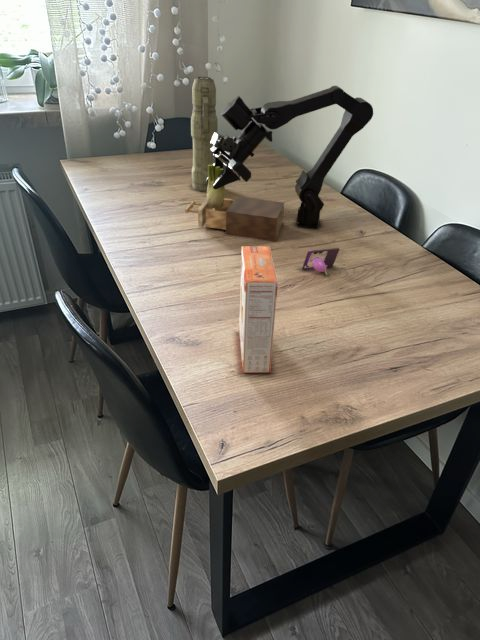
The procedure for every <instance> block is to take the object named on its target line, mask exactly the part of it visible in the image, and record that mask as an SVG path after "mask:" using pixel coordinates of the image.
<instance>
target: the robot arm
mask: <svg viewBox="0 0 480 640" xmlns="http://www.w3.org/2000/svg"><path fill="white" fill-rule="evenodd" d="M334 105H337V106H339V107H340V108H341V109H343V110H344V112H343V115H342V118H341V122H340V125H339V127H338V128H337V130H336V132H335V133H334V134H333V137H332V138H331V139H330V140H329V142H328V144H327V146H326V147H325V149H324V150H323V151H322V153H321V154H320V156H319V158H318V159H317V161H316V162H315V164H314V165H313V167H312V168H311V169H310V170H308V171H305V170H302V171H301V173H300V174H299V177H298V178H297V179H296V180H295V186H294V190H295V193H296V195H297V197H298V198H299V200H300V205H299V207H298V208H297V215H296V223H297V227H302V228H308V229H315V230H316V229H319V227H320V226H319V225H320V222H321V220H320V218H321V211H322V210H323V208H324V206H325V203H324V202H323V200H322V198H321V197H320V196H319V195H320V193H321V191H322V188H323V185H324V181H325V178H326V177H327V176H328V173H329V172H330V171H331V169H332V167H333V166H334V165H335V163H336V162H337V161H338V159H339V157H340V156H341V155H342V153H343V151H344V150H345V148H346V147H347V146H348V144H349V143H350V141H351V140H352V138H353V137H354V136H355V135H356V134H357V133H359V132H360V131H362V130H363V129H364V128H365V127H366V126H367V125H368V123H369V122H370V121H371V120H372V119H373V116H374V108H373V106H372V104H371V103H370V102H368V101H367V100H366V99H364V98H362V97H353V96H352V95H350V94H349V93H347V92H346V91H345V90H344V89H343V88H341V87H340V86H338V85H332V86H331V87H329V88H326V89H322V90H319V91H316V92H313V93H311V94H307V95H304V96H301V97H298V98H295V99H292V100H277V101H270V102H266V103H264V104H263V105H262V106H261V107H260V106H259V107H253V108H250V107H249V106H248V105H247V104H246V103H245V101H244V100H243V98H242V97H241V96H240V95H237V97H235V98H234V99H232V100H231V101H230V102H228V103H227V104H226V105H225V106H224V108H223V109H222V110H221V112H220V115H221V117H223V119H224V120H225V121H226V122H227V123H228V124H229V125H230V126H231V127H232V128H233V130H235V131H238V130H239V131H241V133H240V134H239V135H238V136H236V135H234V136H229V135H228V134H226V135H222V134H221V133H219V132H217V133H216V132H214V134H213V137H212V139H211V142H210V143H211V144H213V146H212V147H211V148H210V150H211V151H212V152H213V153H214V154H215V155H214V154H213V160H214V164H213V165H214V166H215V167H220V169H223V172H222V173H221V175H220V176H219V178H218V179H217V180H216V182H215V184H214V185H213V188H214V189H215V190H216V189H218V188H220V187H223V186H224V187H225V186H227V185H229V184H233V183H234V182H237V181H242V180H243V181H244V182H246V183H248V182H249V180H250V179H251V178H252V171H251V170H250V169H249V168H248V167H246V165H245V164H244V163H245V162H246V161H247V160H248V159H249V157H250V158H253V157H254V156H255V154H254V151H255V150H256V149H257V148H258V147H259V145H261V143H262V142H263V141H264V139H265V140H266V141H267V142H271V143H272V142H273V130H276V129H279V128H281V127H283V126H285V125H287V124H288V123H289V122H290V121H292V120H293V119H295V118H298V117H300V116H303V115H306V114H309V113H313V112H316V111H319V110H321V109H325V108H327V107H328V108H329V107H330V106H334ZM267 128H268V129H269V130H267ZM241 179H242V180H241ZM206 181H207V182H208V178H207V180H206Z"/></svg>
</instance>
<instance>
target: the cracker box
mask: <svg viewBox="0 0 480 640" xmlns="http://www.w3.org/2000/svg"><path fill="white" fill-rule="evenodd" d="M240 255H241V256H240V287H239V288H240V289H239V290H240V291H239V293H240V294H239V295H240V296H239V300H240V301H239V327H238V333H239V345H240V346H239V347H240V359H241V368H242V374H270V373H271V371H272V359H273V358H272V357H273V344H274V333H275V331H274V330H275V320H276V309H277V308H276V307H277V298H278V287H279V286H278V285H279V282H278V277H277V273H276V269H275V268H276V267H275V264H274V260H273V256H272V251H271V246H255V245H253V246H252V245H245V246H241V253H240Z"/></svg>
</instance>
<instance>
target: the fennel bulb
mask: <svg viewBox="0 0 480 640" xmlns="http://www.w3.org/2000/svg"><path fill="white" fill-rule="evenodd" d="M222 172H223V169H220V167H215V166H214V165H208V186H207V192H206V199H207V204H208V205H209V206H210V207H212V208H213V209H215V208H222V206H223V203H224V198H225V192H226V191H225V186H223V187H220V188H218V189H216V190H215V189H214V188H213V185H214V184H215V182H216V180H217V179H218V178H219V176H220V175H221V173H222Z"/></svg>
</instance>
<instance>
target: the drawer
mask: <svg viewBox="0 0 480 640" xmlns="http://www.w3.org/2000/svg"><path fill="white" fill-rule="evenodd" d="M233 201H234V199H231V198H225V197H224V203H223V206H222V208H212V207H210V206H209V205H208V204H207V198H206V199H205V200H204V201H203V202H202V203H201V202H196V201H195V200H193V201H191V203H190V204H189V205H188V206H187V207H186V208H185V210H184V211H185V213H187V214H188V213H193V214H197V227H198V228H203V227H204V226H205V227H206V228H212V229H218V230H225V231H226V211H227V210H228V208H229V207H230V205H231V204H232V202H233ZM195 206H199V207H198V208H197V210H196V209H193V208H194V207H195Z"/></svg>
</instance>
